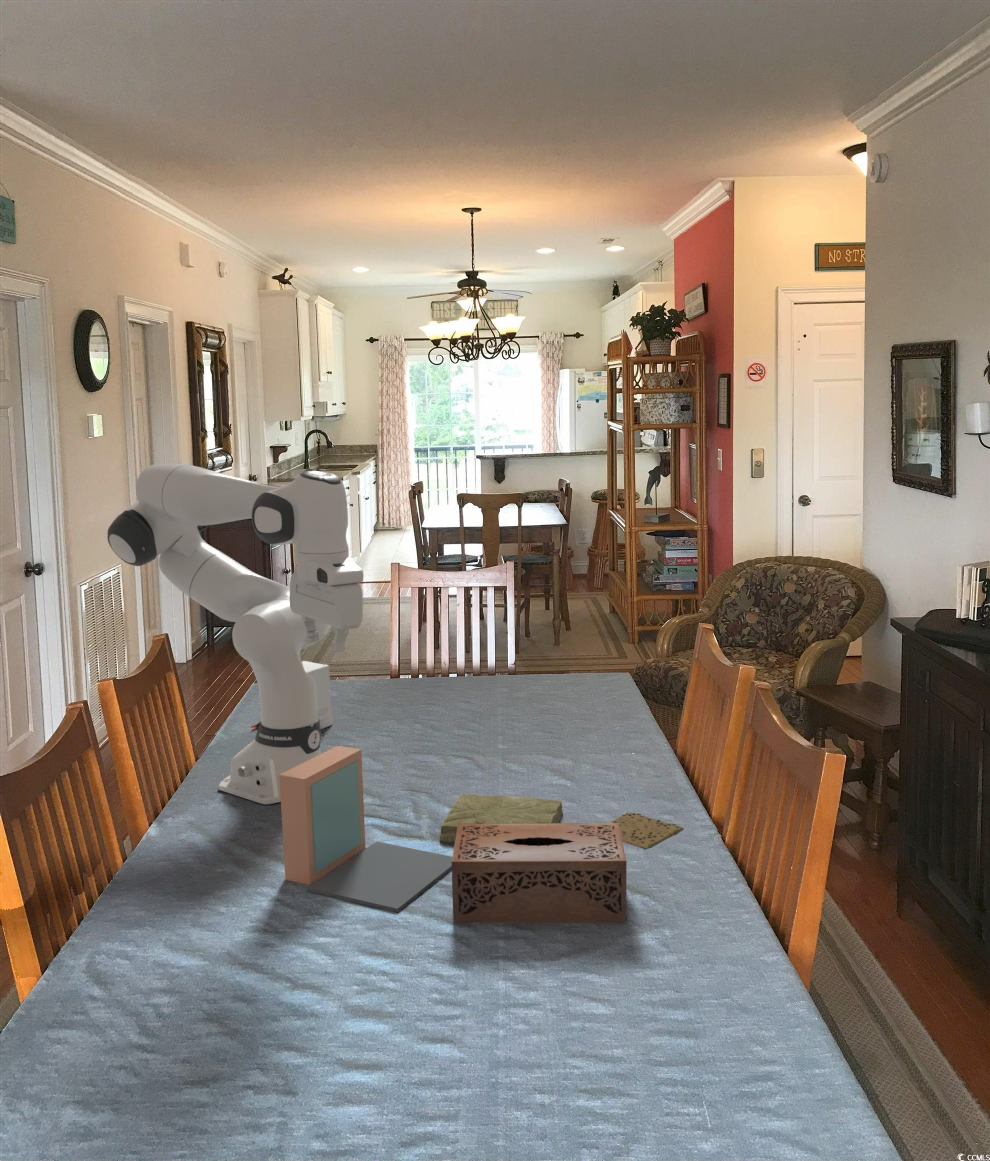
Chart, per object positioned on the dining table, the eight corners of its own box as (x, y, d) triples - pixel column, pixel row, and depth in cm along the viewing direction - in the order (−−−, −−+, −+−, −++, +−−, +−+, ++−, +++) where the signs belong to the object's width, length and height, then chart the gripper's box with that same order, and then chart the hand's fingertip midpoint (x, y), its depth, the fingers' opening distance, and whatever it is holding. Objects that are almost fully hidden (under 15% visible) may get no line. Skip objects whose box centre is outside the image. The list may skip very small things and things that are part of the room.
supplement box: (306, 719, 266) (303, 660, 264) (333, 725, 261) (330, 664, 259) (279, 729, 259) (276, 667, 257) (306, 735, 254) (303, 673, 251)
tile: (285, 879, 178) (279, 774, 175) (341, 843, 192) (337, 745, 189) (311, 885, 176) (305, 779, 173) (366, 848, 190) (362, 749, 187)
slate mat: (307, 891, 174) (307, 887, 174) (376, 844, 191) (376, 841, 191) (397, 912, 166) (397, 908, 166) (461, 861, 184) (461, 858, 183)
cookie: (591, 834, 195) (590, 829, 195) (630, 814, 204) (630, 809, 204) (646, 852, 187) (646, 846, 187) (685, 830, 196) (685, 825, 195)
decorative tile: (459, 807, 209) (459, 790, 208) (563, 814, 205) (563, 796, 204) (434, 847, 191) (434, 828, 190) (547, 855, 187) (547, 835, 186)
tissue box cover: (453, 924, 162) (451, 861, 161) (459, 882, 177) (458, 823, 175) (626, 924, 162) (626, 861, 160) (618, 881, 176) (618, 822, 174)
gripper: (279, 561, 192) (281, 637, 194) (334, 577, 176) (337, 660, 178) (311, 558, 196) (313, 633, 198) (368, 573, 179) (370, 654, 182)
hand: (325, 646), depth 188 cm, fingers open, 8 cm apart
